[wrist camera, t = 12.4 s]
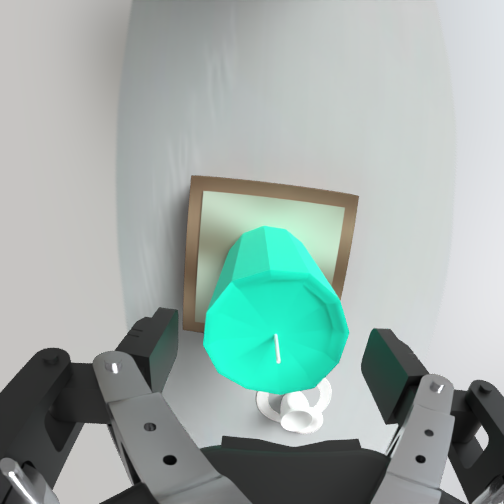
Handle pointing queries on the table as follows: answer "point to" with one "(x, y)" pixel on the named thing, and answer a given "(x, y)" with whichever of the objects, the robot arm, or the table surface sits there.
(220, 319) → the candle
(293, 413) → the teacup and saucer
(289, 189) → the framed mirror
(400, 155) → the table surface
